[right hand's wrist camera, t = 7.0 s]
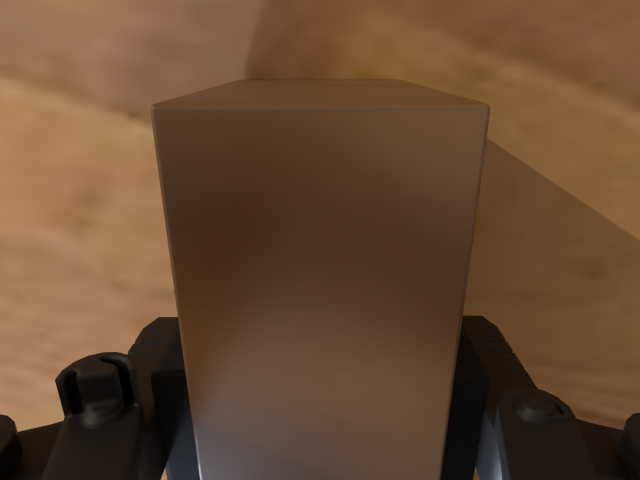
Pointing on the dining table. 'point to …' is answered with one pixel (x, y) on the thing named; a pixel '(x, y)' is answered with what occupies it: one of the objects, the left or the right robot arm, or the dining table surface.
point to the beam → (320, 271)
